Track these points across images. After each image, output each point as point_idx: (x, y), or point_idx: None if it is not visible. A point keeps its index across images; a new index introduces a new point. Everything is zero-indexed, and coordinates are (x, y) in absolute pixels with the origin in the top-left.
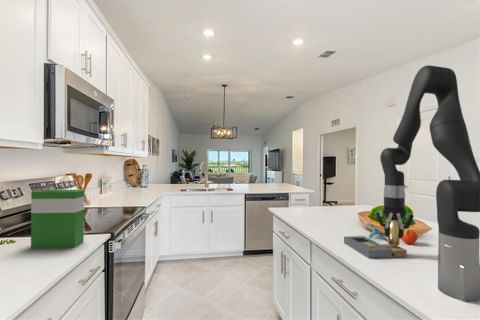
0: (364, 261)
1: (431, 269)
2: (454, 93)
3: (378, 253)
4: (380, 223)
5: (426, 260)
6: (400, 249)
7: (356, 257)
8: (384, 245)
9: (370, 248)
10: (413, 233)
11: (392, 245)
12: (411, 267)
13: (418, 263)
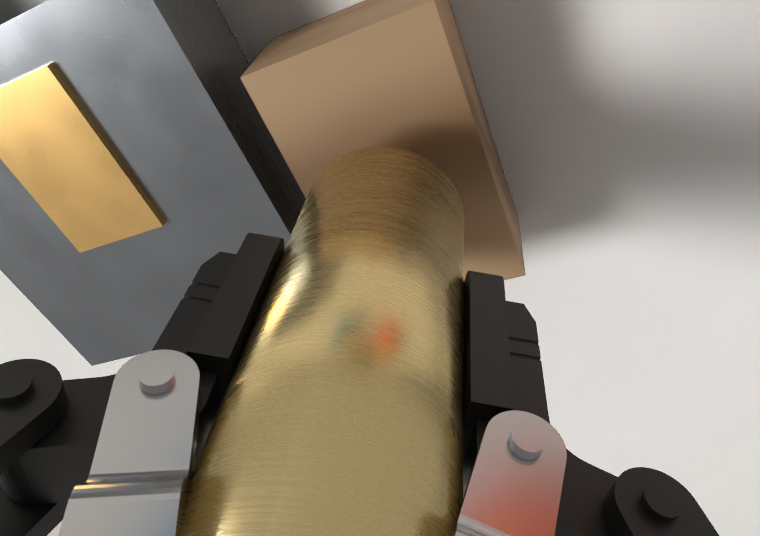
0: (103, 368)
1: (594, 425)
2: None
3: None
4: (1, 507)
5: (713, 256)
6: None
7: (27, 306)
8: (272, 135)
9: (98, 301)
10: None
11: (394, 117)
12: None
13: (558, 339)
